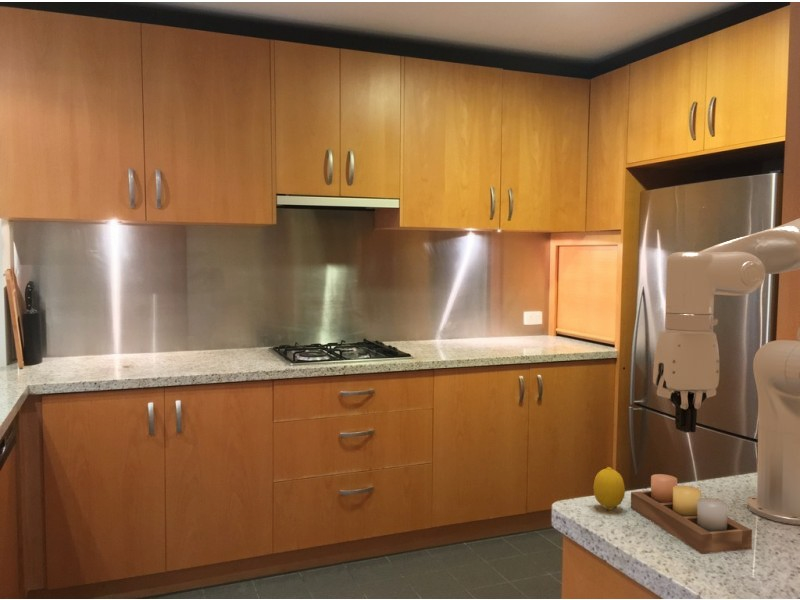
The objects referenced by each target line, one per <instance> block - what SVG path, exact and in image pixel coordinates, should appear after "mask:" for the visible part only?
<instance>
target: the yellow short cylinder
mask: <svg viewBox="0 0 800 600" xmlns="http://www.w3.org/2000/svg"><path fill="white" fill-rule="evenodd" d="M701 498H702V490H701V489H700V488H698V487H695V486H692V485H684V484H683V485H677V486H674V487H673V511H674V512H676V513H677V514H679V515H681V516H682V517H686V516H697V503H698V499H701Z"/></svg>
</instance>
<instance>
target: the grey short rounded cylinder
mask: <svg viewBox="0 0 800 600" xmlns="http://www.w3.org/2000/svg"><path fill="white" fill-rule="evenodd" d="M728 507H729V506H728V503H727V502H725V501H723V500H722V499H717V498H711V497H701V499H698V503H697V525H698V526H700V527H701V528H703V529H705V530H706V531H708V532H715V531H726V530H727V517H728V511H729V510H728V509H729V508H728Z"/></svg>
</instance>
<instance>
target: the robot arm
mask: <svg viewBox="0 0 800 600" xmlns="http://www.w3.org/2000/svg"><path fill="white" fill-rule="evenodd" d="M666 261H667V262H666V281H665V312H664V313H665V314H664V315H665V316H664V331H662V330H661V331H660V332H659V335H658V338H657V342H656V347H655V354H654V360H653V373H652V383H653V384H654V386H655V387H657V389H656V395H657V397H662V398H664V399H668V401H670V402H671V404H672V406H673V407H675V412H674V413H675V414H674V415H675V416H674V418H675V419H674V423H675V429H676V430H678V431H681V432H683V433H687V434H688V433H696V430H697V415H698V414H697V412H698V410H699V409H700V408H701V407H702V406H701V405H702V403H703V402H704V401H705V400H706V399H709V398H712V397H714V396H716V395H717V388H718V386H719V383H720V353H719V352H720V351H719V345H718V339H717V334H716V332H714V326H717V325H718V324H719V320H718V318H717V317H714V308H715V295H721V296H745V295H749V294H751V293H753V292H755V291H757V290H758V289H759V288H760V287H761V286H762V284H764V280H765V278H766V275H774V274H775V275H776V274H783V273H789V272H792V271H793V272H794V271H799V270H800V217H799V218H797V219H794V220H792V221H788V222H786V223H784V224H781V225H778V226H775V227H772V228H767V229H764V230H761V231H757V232H754V233H751V234H748V235H745V236H741V237H738V238H734V239H731V240H728V241H724V242H721V243H717V244H715V245H712V246H711V247H710V246H709V247H707V248H705V249H702V250H700V251H678V252H677V251H676V252H673V253H671V254H670V255H669V256H668V257H667V260H666ZM752 363H753V364H752V367H753V369H752V370H753V376H754V380H755V386H756V392H757V399H758V401H757V402H758V403H757V404H758V426H757V427H758V428H757V469H756V470H757V472H756V473H757V478H756V481H757V482H756V495H754V496H751V497H749V498H748V499H747V502H746V503H747V508H748V510H749V511H751V512H752V513H754V514H756V515H757V516H760V517H762V518H763V519H764V518H765V519H767V520H771V521H775V522H779V523H784V524H791V525H800V326H799V327H798V330H797V340H792V339H777V340H772V341H769V342H766V343H765V344H763V345H761V346H760V347H759V348H758V349H757V351H756V353H755V355H754V357H753V361H752Z"/></svg>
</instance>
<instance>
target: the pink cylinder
mask: <svg viewBox="0 0 800 600" xmlns="http://www.w3.org/2000/svg"><path fill="white" fill-rule="evenodd" d="M674 486H678V478H677V477H675V476H673V475H669V474H666V473H665V474H664V473H663V474H662V473H658V474H657V473H655V474H652V475H650V491H651V498H652V499H653V500H655V501H657V502H659V503H669V502H673V487H674Z"/></svg>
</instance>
